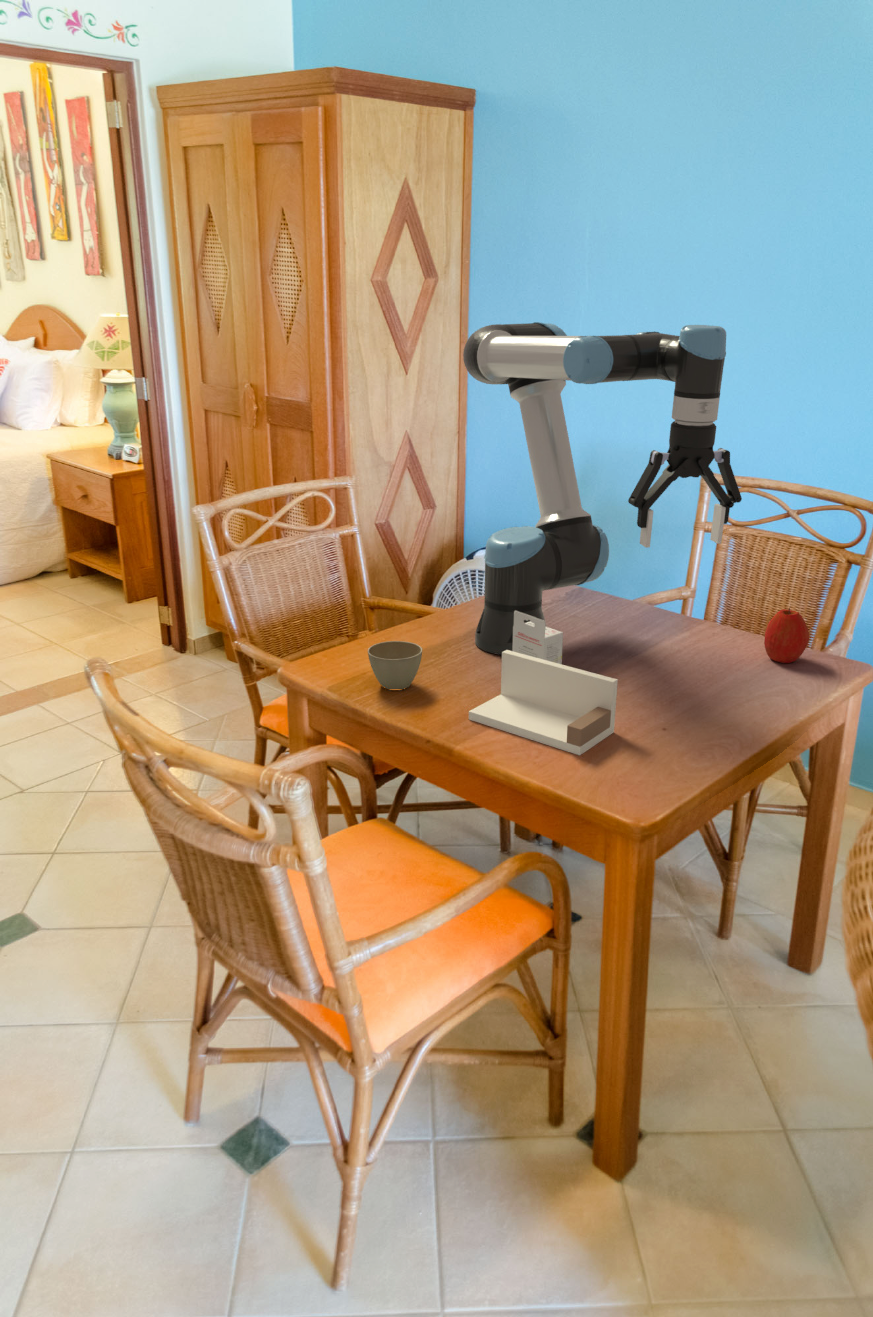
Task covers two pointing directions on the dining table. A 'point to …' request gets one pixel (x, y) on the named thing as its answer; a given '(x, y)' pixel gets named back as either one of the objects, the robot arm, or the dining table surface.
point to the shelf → (551, 703)
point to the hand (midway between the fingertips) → (680, 543)
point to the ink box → (536, 638)
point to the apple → (786, 636)
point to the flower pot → (395, 663)
